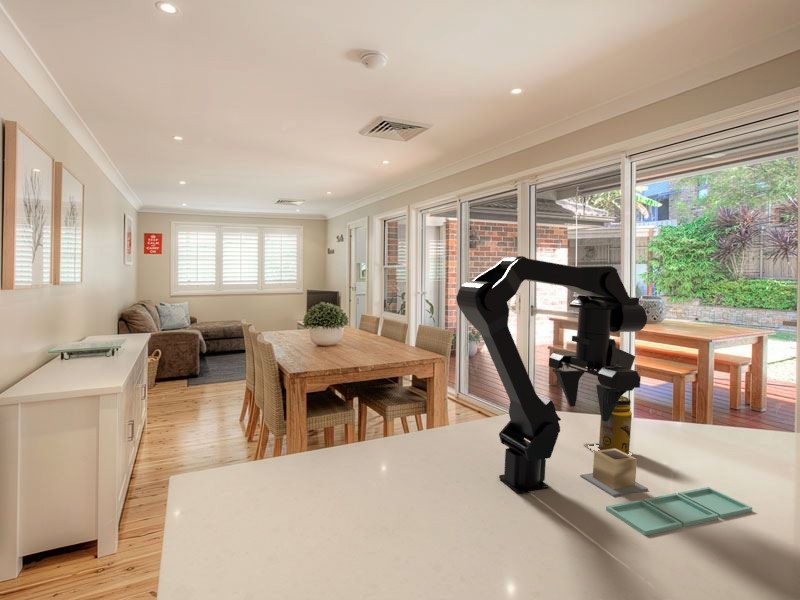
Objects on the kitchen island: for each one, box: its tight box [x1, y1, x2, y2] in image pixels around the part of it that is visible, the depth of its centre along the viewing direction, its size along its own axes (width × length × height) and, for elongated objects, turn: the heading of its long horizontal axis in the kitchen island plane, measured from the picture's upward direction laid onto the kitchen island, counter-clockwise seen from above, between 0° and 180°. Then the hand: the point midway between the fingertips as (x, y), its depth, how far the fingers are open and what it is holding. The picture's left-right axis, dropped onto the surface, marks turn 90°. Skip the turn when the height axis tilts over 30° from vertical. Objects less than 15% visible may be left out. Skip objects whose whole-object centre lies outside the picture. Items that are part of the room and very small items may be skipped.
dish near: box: [605, 499, 683, 536], centre depth 73 cm, size 8×8×1 cm
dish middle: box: [642, 492, 719, 528], centre depth 76 cm, size 8×8×1 cm
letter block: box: [592, 448, 638, 490], centre depth 85 cm, size 5×5×5 cm
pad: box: [579, 472, 649, 498], centre depth 85 cm, size 8×8×1 cm
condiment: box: [583, 395, 636, 457], centre depth 101 cm, size 7×8×12 cm
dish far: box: [677, 486, 753, 519], centre depth 79 cm, size 8×8×1 cm
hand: (587, 413), depth 89 cm, fingers open, 9 cm apart
